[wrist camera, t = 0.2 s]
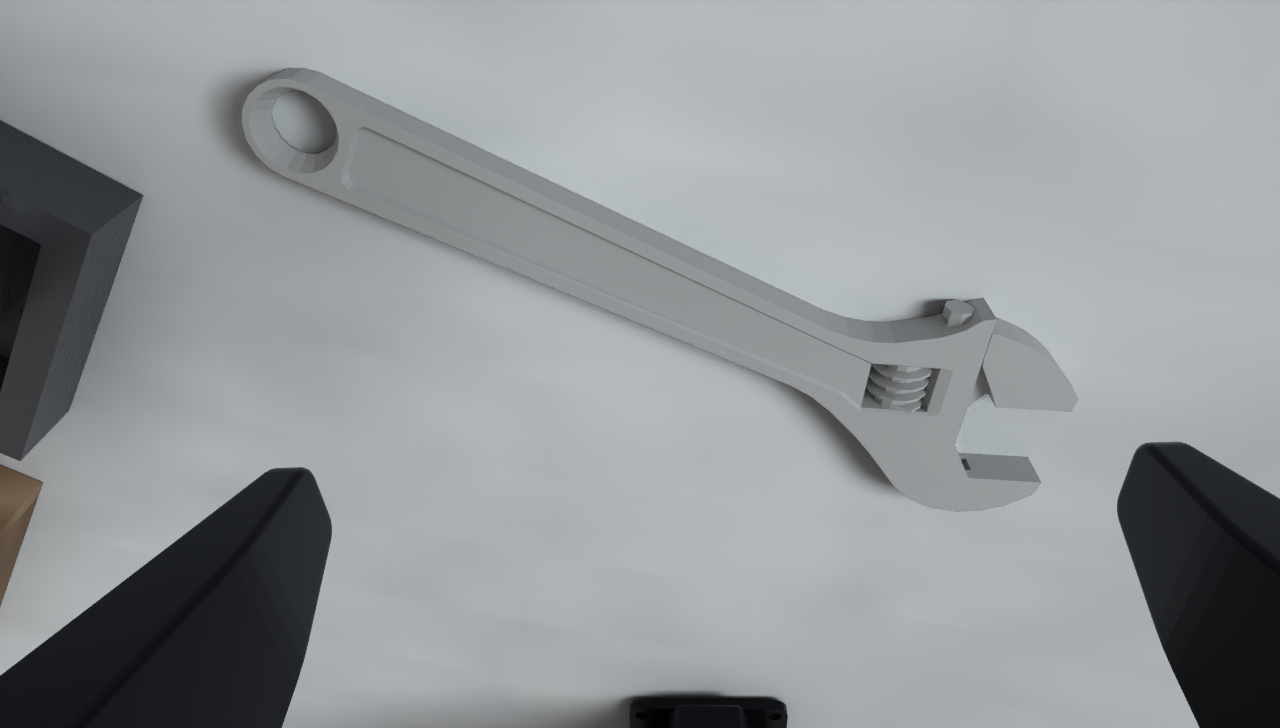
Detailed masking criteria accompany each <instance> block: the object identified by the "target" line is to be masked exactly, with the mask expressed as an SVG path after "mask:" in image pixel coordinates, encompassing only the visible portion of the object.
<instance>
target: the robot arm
mask: <svg viewBox="0 0 1280 728" xmlns="http://www.w3.org/2000/svg"><path fill="white" fill-rule="evenodd" d="M1117 513H1118V518H1119V522H1120V525H1121V528H1122V531H1123V534H1124V537H1125V540H1126V543H1127V546H1128V549H1129V552H1130V555H1131V558H1132V561H1133V563H1134V566H1135V569H1136V572H1137V575H1138V578H1139V581H1140V584H1141V587H1142V590H1143V593H1144V596H1145V599H1146V602H1147V605H1148V608H1149V611H1150V614H1151V617H1152V619H1153V622H1154V625H1155V628H1156V631H1157V634H1158V636H1159V639H1160V642H1161V644H1162V647H1163V649H1164V652H1165V654H1166V656H1167V658H1168V661H1169V663H1170V665H1171V668H1172V670H1173V672H1174V674H1175V676H1176V678H1177V680H1178V683H1179V685H1180V687H1181V689H1182V691H1183V693H1184V695H1185V697H1186V700H1187V702H1188V704H1189V706H1190V708H1191V710H1192V712H1193V714H1194V717H1195V719H1196V721H1197V723H1198V725H1199V727H1200V728H1280V499H1279V498H1278V497H1276V496H1274V495H1273V494H1271V493H1269V492H1268V491H1266V490H1264V489H1263V488H1261V487H1259V486H1258V485H1256V484H1254V483H1252V482H1251V481H1249V480H1247V479H1246V478H1244V477H1242V476H1241V475H1239V474H1237V473H1236V472H1234V471H1232V470H1231V469H1229V468H1227V467H1226V466H1224V465H1222V464H1220V463H1219V462H1217V461H1215V460H1214V459H1212V458H1210V457H1209V456H1207V455H1205V454H1204V453H1202V452H1200V451H1199V450H1197V449H1195V448H1193V447H1192V446H1190V445H1188V444H1186V443H1182V442H1152V443H1145V444H1142V445H1141V446H1140V447H1139V448H1138V449H1137V450H1136V452H1135V454H1134V456H1133V459H1132V461H1131V464H1130V467H1129V469H1128V472H1127V475H1126V478H1125V480H1124V483H1123V486H1122V488H1121V491H1120V494H1119V497H1118V502H1117ZM331 536H332V525H331V519H330V516H329V513H328V511H327V508H326V506H325V503H324V500H323V498H322V495H321V493H320V490H319V488H318V485H317V482H316V480H315V478H314V476H313V474H312V473H311V471H310V470H308V469H306V468H302V467H297V468H275V469H271V470H269V471H267V472H266V473H264V474H263V475H261V476H260V477H259V478H258V479H256V480H255V481H254V482H252V483H251V484H250V485H248V486H247V487H246V488H245V489H243V490H242V491H241V492H239V493H238V494H237V495H235V496H234V497H233V498H231V499H230V500H229V501H228V502H226V503H225V504H224V505H222V506H221V507H220V508H218V509H217V510H216V511H215V512H213V513H212V514H211V515H209V516H208V517H207V518H205V519H204V520H203V521H201V522H200V523H199V524H198V525H196V526H195V527H194V528H192V529H191V530H190V531H188V532H187V533H186V534H185V535H183V536H182V537H181V538H179V539H178V540H177V541H175V542H174V543H173V544H172V545H170V546H169V547H168V548H166V549H165V550H164V551H162V552H161V553H160V554H158V555H157V556H156V557H155V558H153V559H152V560H151V561H149V562H148V563H147V564H145V565H144V566H143V567H142V568H140V569H139V570H138V571H136V572H135V573H134V574H132V575H131V576H130V577H128V578H127V579H126V580H125V581H123V582H122V583H121V584H119V585H118V586H117V587H115V588H114V589H113V590H112V591H110V592H109V593H108V594H106V595H105V596H104V597H102V598H101V599H100V600H98V601H97V602H96V603H95V604H93V605H92V606H91V607H89V608H88V609H87V610H85V611H84V612H83V613H82V614H80V615H79V616H78V617H76V618H75V619H74V620H72V621H71V622H70V623H69V624H67V625H66V626H65V627H63V628H62V629H61V630H59V631H58V632H57V633H55V634H54V635H53V636H52V637H50V638H49V639H48V640H46V641H45V642H44V643H42V644H41V645H40V646H38V647H37V648H36V649H35V650H33V651H32V652H31V653H29V654H28V655H27V656H25V657H24V658H23V659H22V660H20V661H19V662H18V663H16V664H15V665H14V666H12V667H11V668H10V669H8V670H7V671H6V672H5V673H3V674H2V675H1V676H0V728H282V725H283V722H284V719H285V716H286V713H287V710H288V707H289V704H290V702H291V699H292V696H293V693H294V690H295V687H296V684H297V681H298V678H299V675H300V671H301V668H302V665H303V662H304V658H305V654H306V650H307V646H308V642H309V637H310V633H311V628H312V624H313V619H314V615H315V610H316V606H317V601H318V596H319V592H320V587H321V583H322V578H323V574H324V569H325V565H326V560H327V556H328V551H329V547H330V542H331ZM787 718H788V716H787V708H786V705H785V704H784V703H783V702H780V701H763V700H636V701H634V702H632V703H631V705H630V728H786V726H787Z"/></svg>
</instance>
